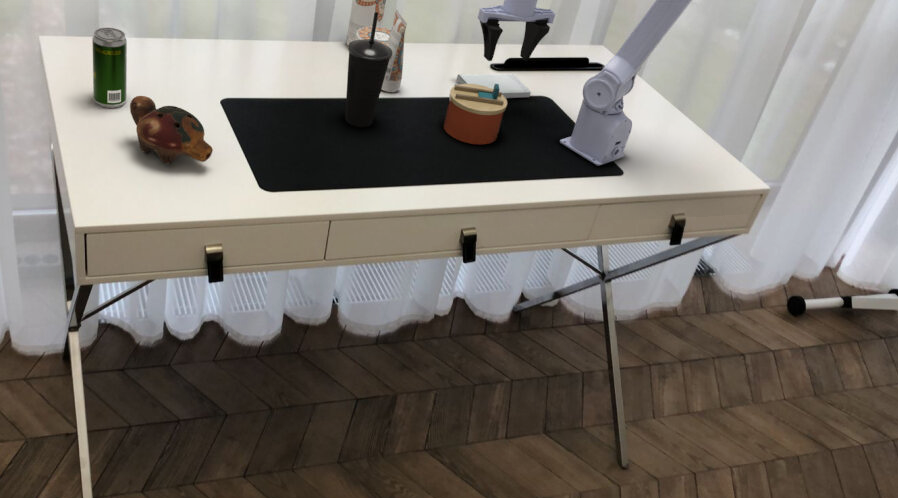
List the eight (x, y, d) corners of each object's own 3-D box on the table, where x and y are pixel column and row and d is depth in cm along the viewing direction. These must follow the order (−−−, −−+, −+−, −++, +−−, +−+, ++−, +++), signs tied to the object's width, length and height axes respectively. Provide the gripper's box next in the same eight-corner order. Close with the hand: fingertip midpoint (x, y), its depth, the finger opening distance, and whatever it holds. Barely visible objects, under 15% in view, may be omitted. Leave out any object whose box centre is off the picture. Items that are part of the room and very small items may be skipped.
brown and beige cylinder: (495, 121, 182) (505, 85, 177) (501, 149, 174) (511, 111, 169) (441, 113, 181) (449, 76, 176) (443, 140, 173) (452, 102, 168)
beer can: (132, 105, 164) (132, 38, 157) (102, 111, 161) (101, 43, 154) (117, 91, 167) (117, 25, 160) (87, 96, 164) (86, 29, 157)
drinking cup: (374, 135, 170) (394, 26, 158) (332, 124, 171) (348, 15, 158) (383, 116, 176) (403, 10, 164) (343, 106, 177) (359, 0, 165)
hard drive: (475, 93, 187) (531, 90, 191) (457, 73, 192) (512, 71, 197) (473, 100, 188) (529, 98, 192) (455, 81, 193) (510, 79, 198)
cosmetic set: (416, 97, 185) (435, 1, 173) (369, 96, 182) (386, -2, 170) (378, 40, 203) (394, -50, 191) (336, 38, 200) (349, -53, 188)
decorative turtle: (143, 126, 160) (148, 82, 155) (223, 162, 157) (231, 118, 152) (108, 147, 152) (112, 101, 147) (191, 185, 149) (198, 139, 145)
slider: (495, 96, 174) (498, 83, 173) (496, 101, 173) (499, 89, 171) (477, 93, 174) (480, 81, 173) (478, 98, 172) (481, 86, 171)
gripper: (549, -21, 177) (530, 49, 186) (478, -24, 172) (462, 49, 180) (567, -6, 172) (547, 65, 181) (495, -8, 167) (477, 66, 175)
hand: (506, 58), depth 180 cm, fingers open, 7 cm apart
